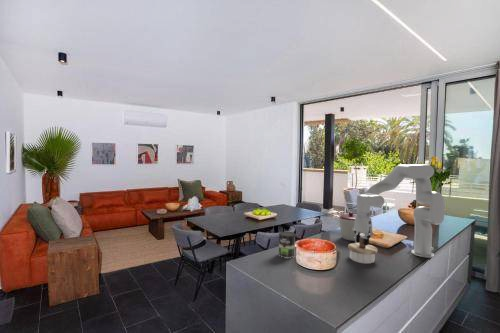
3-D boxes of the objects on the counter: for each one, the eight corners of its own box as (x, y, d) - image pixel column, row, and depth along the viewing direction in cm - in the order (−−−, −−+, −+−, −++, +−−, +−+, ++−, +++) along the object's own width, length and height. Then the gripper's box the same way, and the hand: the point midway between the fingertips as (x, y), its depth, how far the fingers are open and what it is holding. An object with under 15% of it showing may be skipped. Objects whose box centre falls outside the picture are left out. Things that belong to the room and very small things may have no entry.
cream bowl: (359, 253, 172) (360, 244, 172) (379, 260, 160) (379, 251, 160) (345, 257, 166) (345, 247, 165) (364, 265, 153) (364, 255, 153)
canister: (333, 237, 207) (333, 210, 206) (349, 234, 215) (349, 209, 215) (351, 244, 191) (352, 215, 190) (368, 240, 199) (368, 213, 199)
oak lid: (359, 243, 174) (359, 232, 174) (383, 251, 160) (383, 239, 159) (342, 247, 166) (342, 236, 166) (365, 256, 151) (365, 244, 151)
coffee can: (291, 259, 161) (292, 237, 160) (276, 256, 166) (276, 234, 165) (296, 254, 170) (297, 232, 169) (282, 251, 175) (282, 230, 174)
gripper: (379, 216, 156) (378, 246, 157) (355, 211, 171) (354, 238, 172) (371, 218, 153) (370, 248, 153) (347, 212, 168) (347, 240, 168)
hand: (362, 243), depth 163 cm, fingers open, 5 cm apart
